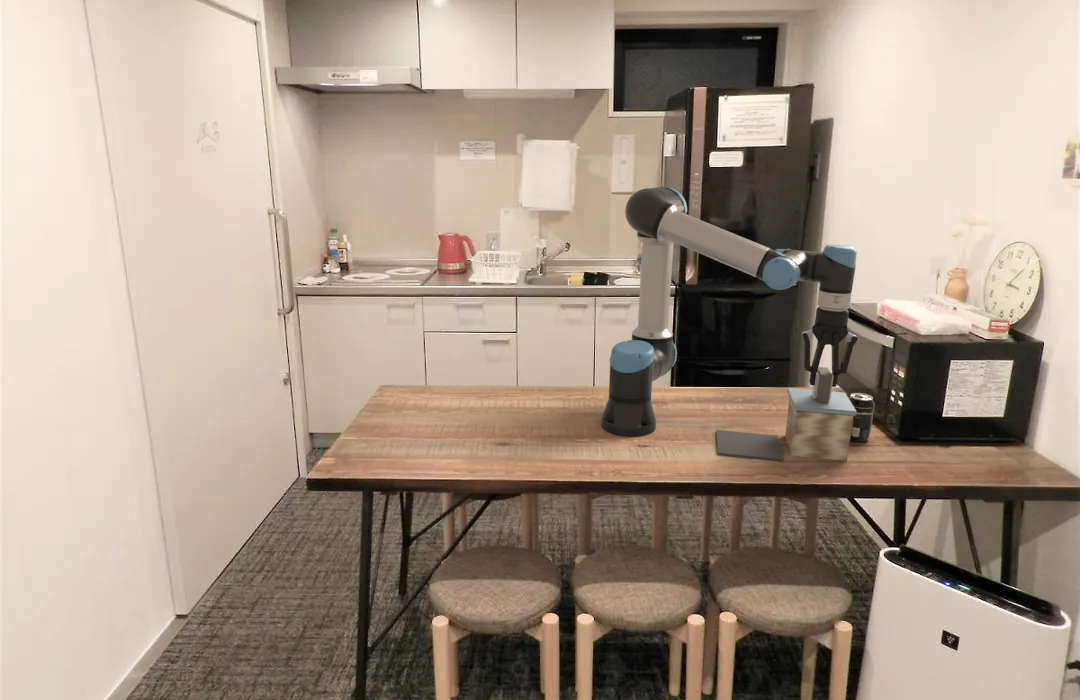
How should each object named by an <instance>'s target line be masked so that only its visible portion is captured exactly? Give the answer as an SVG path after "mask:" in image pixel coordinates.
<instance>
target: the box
mask: <svg viewBox="0 0 1080 700" xmlns="http://www.w3.org/2000/svg"><path fill="white" fill-rule="evenodd" d="M786 417H787V418H786V425H785V434H784V437H785V439H786V440H785V441H786V443H787V446H788V449H789V454H790V456H791V457H803V458H811V459H812V458H814V459H823V460H824V459H825V460H834V461H844V462H845V461H846V462H847V461H848V455H849V449H850V442H851V440H850V437H851V430H852V423H853V415H841V414H830V413H818V412H807V411H796V410H794V408H793V405H792V403H791V400H790V397H789V401H788V408H787V416H786Z"/></svg>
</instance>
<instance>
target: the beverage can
mask: <svg viewBox="0 0 1080 700" xmlns="http://www.w3.org/2000/svg"><path fill="white" fill-rule="evenodd" d="M849 396H850V397H848V398H849V400H850V402H851V403H852V405H853V406H854V408H855V410H856V416H853V423H852V430H851V437H850V441H853V442H865V441H867V440H869V439H870V437H871V431H872V425H873V418H874V411H875V402H874V401H873V399H874V397H873V396H872V395H870V394H867V393H863V392H862V393H861V392H853V393H850V395H849Z"/></svg>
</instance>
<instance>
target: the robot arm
mask: <svg viewBox="0 0 1080 700" xmlns="http://www.w3.org/2000/svg"><path fill="white" fill-rule="evenodd" d="M687 213H688V207H687V202H686V200H685V197H684V196H683V194H681V192H679V191H678V190H677V189H674V188H672V187H666V186H658V187H646V188H641V189H639V190H637V191H635V192H634V193H632V195H631V196H630V197H629V199H628V201H627V202H626V205H625V211H624V214H625V218H626V221H627V223H628V224H629V226H630V227H631V228H632V229H633V230H634V231H635V232H636V234H637V235H636V237H637V238H638V240H639V241H640V242H641V260H640V261H641V263H640V278H639V279H640V281H639V284H640V285H639V299H638V300H639V301H638V316H637V317H638V319H637V326H636V328H634V329H633V330H632V331H631V339H629V340H627V341H624V340H623V341H620V342H618V343H616V344H614V346H612V348H611V351H610V357H609V383H608V399H607V402H606V404H605V407H604V410H603V412H602V415H601V423H600V424H601V427H602V429H603V430H605V431H606V432H609V433H611V434H615V435H619V436H625V437H640V436H647V435H650V434H652V433H653V432H654V431H655V430H656V429H657V427H656V426H657V419H656V415H655V411H654V407H653V403H652V393H653V392H652V390H653V382H654V381H656V380H658V379H660V378H661V377H663V376H665V375H666V374H667V373H669V372H670V371H671V369H672V368H673V367H674V366H675V364H676V361H677V357H678V356H677V355H678V352H677V351H678V350H677V347H676V346H677V345H675V343H674V341H673V340H674V339H673V338H674V333H673V332H672V331H671V329H670V328H669V318H670V305H671V304H670V303H671V290H672V289H671V288H672V272H673V261H674V260H673V258H674V257H673V256H674V245H675V244H677V245H680V246H682V247H684V248H686V249H688V250H691V251H693V252H696V253H698V254H701V255H703V256H705V257H708V258H710V259H712V260H714V261H717V262H719V263H720V264H721V263H722V264H724V265H726V266H729V267H731V268H734V270H735V269H736V270H738V271H740V272H742V273H745V274H748V275H749V276H752V277H755V278H757V279H759V280H761V281H763V282H764V283H765V284H766V285H767V286H768V287H769V288H770V289H773V290H777V291H781V290H783V291H784V290H787V289H790V288H791V287H794V285H796V284H797V283H799V282H806V283H807V282H809V283H810V282H811V283H817V284H818V283H819V287H818V296H817V302H816V303H817V304H816V305H817V306H818V307H816V310H815V318H814V323H813V325H812V328H811V329H809V330H806V331H805V330H802V332H801V333H800V334H801V336H802V338H803V368H804V370H805V371H807V372H809V384H810V386H812V389H811V390H812V397H813V399H816V398H817V391H818V383H819V376H820V374H819V373H818V372H817V370H818V367H820V362H821V358H822V355H823V352H824V349H825V346H827V345H830V346H831V372H830V373H831V374H832V382H831V389H830V396H829V400H830V398H831V392H833V391H832V390H833V389H832V388H836V387H837V386H838V378H839V376H840V375H841V374H846V373H847V371H848V367H849V364H850V360H851V356H852V352H853V349H854V345H856V344H857V342H858V339H859V337H858V336H857V335H856V334H853V333H851V332H849V329H848V320H849V315H850V314H849V313H850V311H849V310H848V309H850V307H851V301H852V300H851V299H852V292H853V285H854V279H855V272H856V268H857V267H856V266H857V264H856V263H857V249H856V248H855V247H854V246H851V245H846V244H826V245H825V246H824V248H823V250H822V251H810V250H809V251H808V250H798V249H791V248H786V249H785V248H783V249H782V248H777V249H775V250H774V249H772V248H770V247H769V246H765V245H763V244H760V243H758V242H755V241H753V240H751V239H748V238H745V237H743V236H740V235H737V234H736V233H733V232H730V231H728V230H726V229H724V228H720V227H718V226H716V225H714V224H711V223H709V222H706V221H704V220H701V219H698V218H696V217H694V216H691V215H689V214H687ZM813 336H814V337H815V338H816V340H817V341H816V347H815V350H814V351H815V352H814V355H813V358H812V359H813V360H812V361H811V339H813V338H812V337H813ZM845 338H846V339H845ZM844 339H845V340H846V343H845V347H844V350H843V354H842V358H841V362H840V361H839V359H840V358H839V351H840V343H841V342H842V341H843V340H844ZM811 362H812V363H811ZM839 362H840V365H839Z"/></svg>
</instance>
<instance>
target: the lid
mask: <svg viewBox="0 0 1080 700" xmlns="http://www.w3.org/2000/svg"><path fill="white" fill-rule="evenodd" d="M817 372H818V373H819V374H820V376H819V383H818V391H817V398H816V399H813V397H812V390H813V389H805V388H793V387H787V394H788V397H789V398H790V400H791V403H792V405H793V408H794V410H796V411H807V412H818V413H830V414H841V415H853V416H856V410H855V408H854V406H853V405H852V403H851V402H850V400H849V398H850V397H848V395H847V393H846V392H841V391H831V398H830V400H829V396H830V389H831V382H832V374H831V373H832V372H831V371H830V369H829V368H828V367H823V366H818V370H817Z"/></svg>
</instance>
